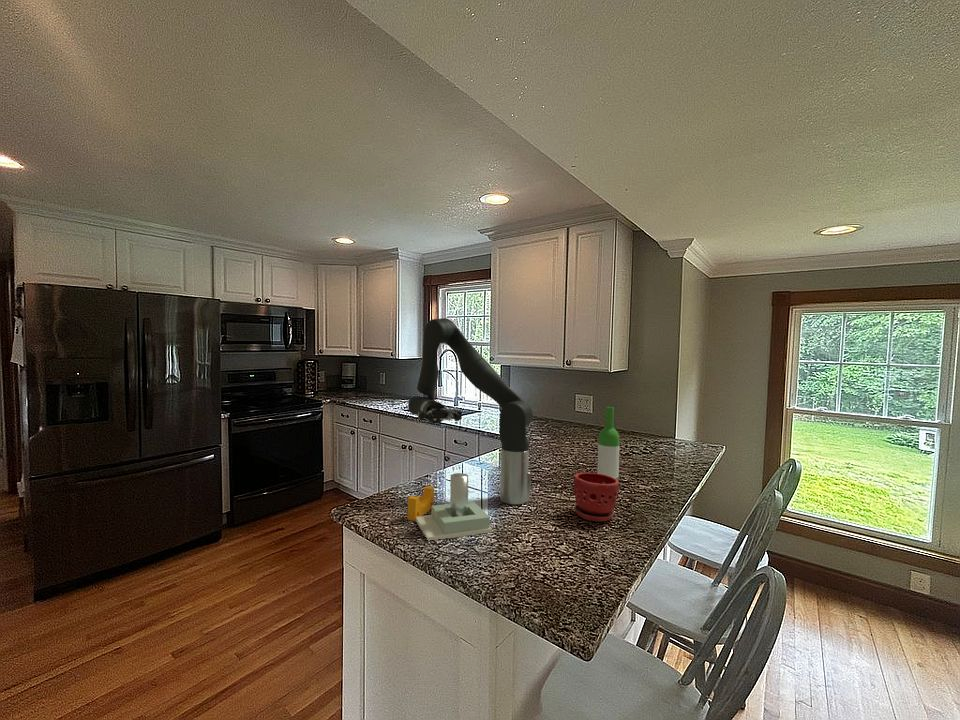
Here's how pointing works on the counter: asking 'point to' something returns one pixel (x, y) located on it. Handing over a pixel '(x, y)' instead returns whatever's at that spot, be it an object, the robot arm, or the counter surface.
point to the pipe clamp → (420, 503)
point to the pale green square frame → (454, 522)
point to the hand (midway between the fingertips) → (445, 418)
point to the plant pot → (595, 496)
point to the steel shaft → (459, 495)
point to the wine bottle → (608, 447)
